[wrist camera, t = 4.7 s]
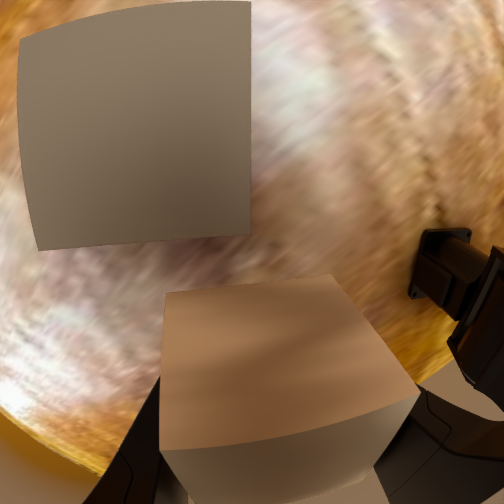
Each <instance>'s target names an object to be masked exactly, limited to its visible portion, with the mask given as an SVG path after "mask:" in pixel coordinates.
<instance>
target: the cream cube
mask: <svg viewBox="0 0 504 504" xmlns="http://www.w3.org/2000/svg"><path fill="white" fill-rule="evenodd" d="M420 393H421V391H420V390H419V389H418V387H417V386H416V384H415V383H414V382H413V380H412V379H411V378H410V376H409V375H408V373H407V372H406V371H405V369H404V368H403V367H402V365H401V364H400V363H399V361H398V360H397V359H396V357H395V356H394V355H393V353H392V352H391V351H390V349H389V348H388V347H387V345H386V344H385V343H384V341H383V340H382V339H381V337H380V336H379V335H378V333H377V332H376V331H375V330H374V328H373V327H372V326H371V324H370V323H369V322H368V320H367V319H366V318H365V317H364V315H363V314H362V313H361V311H360V310H359V309H358V308H357V306H356V305H355V304H354V303H353V301H352V300H351V299H350V298H349V296H348V295H347V294H346V293H345V291H344V290H343V289H342V288H341V286H340V285H339V284H338V283H337V281H336V280H335V279H334V278H333V276H332V275H331V274H324V275H317V276H309V277H302V278H294V279H286V280H278V281H270V282H262V283H254V284H246V285H237V286H228V287H219V288H210V289H201V290H191V291H182V292H172V293H166V300H165V311H164V323H163V337H162V353H161V373H160V406H159V450H160V452H161V454H162V455H163V457H164V459H165V460H166V462H167V463H168V465H169V466H170V468H171V470H172V471H173V473H174V474H175V476H176V477H177V479H178V480H179V482H180V483H181V484H182V486H183V487H184V489H185V490H186V492H187V493H188V494H189V496H190V497H191V498H192V500H193V501H194V503H195V504H284V503H289V502H293V501H298V500H302V499H306V498H309V497H313V496H317V495H320V494H324V493H327V492H330V491H333V490H337V489H340V488H343V487H346V486H348V485H351V484H354V483H357V482H360V481H362V479H363V478H364V477H365V475H366V474H367V473H368V472H369V471H370V469H371V468H372V467H373V465H374V464H375V463H376V461H377V460H378V459H379V457H380V456H381V455H382V453H383V452H384V450H385V449H386V448H387V446H388V445H389V443H390V442H391V440H392V439H393V437H394V436H395V434H396V433H397V431H398V430H399V428H400V427H401V425H402V424H403V422H404V420H405V419H406V417H407V416H408V414H409V412H410V411H411V409H412V407H413V406H414V404H415V402H416V400H417V399H418V397H419V395H420Z"/></svg>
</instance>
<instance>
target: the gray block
mask: <svg viewBox="0 0 504 504" xmlns="http://www.w3.org/2000/svg"><path fill="white" fill-rule="evenodd" d="M17 117H18V134H19V147H20V156H21V165H22V173H23V180H24V186H25V192H26V198H27V203H28V208H29V213H30V218H31V223H32V227H33V231H34V236H35V240H36V243H37V247H38V251H46V250H57V249H68V248H79V247H90V246H102V245H114V244H126V243H138V242H151V241H164V240H178V239H191V238H206V237H220V236H236V235H251V2H248V1H192V2H176V3H165V4H156V5H148V6H141V7H134V8H128V9H122V10H117V11H112V12H107V13H103V14H98V15H94V16H90V17H86V18H82V19H78V20H75V21H71V22H68V23H65V24H61V25H58V26H55V27H52V28H49V29H46V30H43V31H40V32H38V33H35V34H32V35H30V36H27V37H25V38H22V39H20V44H19V56H18V73H17Z"/></svg>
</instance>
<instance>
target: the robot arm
mask: <svg viewBox="0 0 504 504" xmlns="http://www.w3.org/2000/svg"><path fill="white" fill-rule="evenodd" d="M471 235H472V231H471V230H470V229H468V228H456V229H433V230H426V231H425V232H424V233H423V237H422V241H421V246H420V250H419V254H418V259H417V263H416V267H415V270H414V274H413V278H412V282H411V285H410V289H409V292H408V296H409V297H410V298H411V299H417V298H422V297H426V296H427V297H428V298H429V299H430V300H431V301H433V302H434V303H435V304H436V305H437V306H438V307H439V308H442V309H443V310H444V311H445V312H446V313H447V314H448V315H449V316H450V317H451V318H452V319H453V320H454V321H459V322H458V324H457V326H456V328H455V329H454V331H453V333H452V335H451V336H449V338H448V340H447V341H446V342H447V344H448V346H449V348H450V350H451V352H452V354H453V356H454V358H455V360H456V362H457V364H458V366H459V368H460V370H461V372H462V374H463V376H464V378H465V380H466V381H467V382H468V383H469V384H471V385H472V386H473V388H474V389H476V390H478V391H480V392H481V393H483V394H485V395H486V396H488V397H489V398H490V399H491V400H493V401H494V402H495V403H496V404H497V406H498V407H499V408H500V409H501V410H502V411H503V412H504V248H501V247H497V246H494V245H493V246H492V249H491V251H490V252H491V254H490V257H489V256H487V255H486V254H484V253H483V252H481V251H480V250H478V249H477V248H475V247H473V246H472V245H470V244H469V243H470V239H471ZM415 384H416V383H415ZM416 386H417V387H418V389H419V390H420V391H421V393H420V395H419V397H418V399H417V400H416V402H415V404H414V406H413V407H412V409H411V411H410V412H409V414H408V416H407V417H406V419H405V420H404V422H403V424H402V425H401V427H400V428H399V430H398V431H397V433H396V434H395V436H394V437H393V439H392V440H391V442H390V443H389V445H388V446H387V448H386V449H385V450H384V452H383V453H382V455H381V456H380V457H379V459H378V460H377V461H376V463H375V464H374V465H373V467H374V470H375V472H376V474H377V476H378V478H379V481H380V483H381V485H382V487H383V489H384V492H385V494H386V496H387V498H388V501H389V503H390V504H504V421H492V420H487V419H485V418H482V417H480V416H478V415H475V414H473V413H471V412H469V411H466V410H464V409H462V408H460V407H457V406H455V405H453V404H451V403H449V402H447V401H445V400H443V399H441V398H440V397H438V396H436V395H435V394H433V393H431V392H429V391H426V389H424V388H423V387H421V386H419V385H418V384H416ZM159 406H160V376H159V378H158V380H157V381H156V383H155V385H154V387H153V388H152V390H151V392H150V394H149V395H148V397H147V399H146V401H145V402H144V404H143V406H142V408H141V410H140V411H139V413H138V415H137V417H136V418H135V420H134V422H133V424H132V425H131V427H130V429H129V431H128V433H127V434H126V436H125V438H124V440H123V442H122V443H121V445H120V447H119V449H118V450H119V451H117V452H116V454H115V456H114V458H113V459H112V461H111V463H110V465H109V466H108V468H107V470H106V471H105V473H104V474H103V476H102V477H101V479H100V480H99V481H98V483H97V484H96V486H95V487H94V488H93V490H92V491H91V492H90V494H89V495H88V496H87V498H86V499H85V500H84V502H83V503H82V504H188V493H187V492H186V490H185V489H184V487H183V486H182V484H181V483H180V482H179V480H178V479H177V477H176V476H175V474H174V473H173V471H172V470H171V468H170V466H169V465H168V463H167V462H166V460H165V459H164V457H163V455H162V454H161V452H160V450H159Z"/></svg>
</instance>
